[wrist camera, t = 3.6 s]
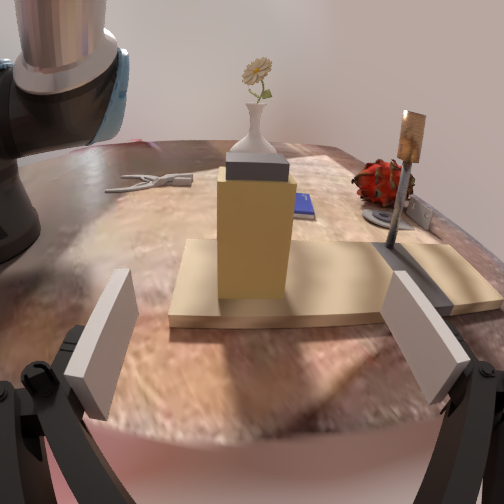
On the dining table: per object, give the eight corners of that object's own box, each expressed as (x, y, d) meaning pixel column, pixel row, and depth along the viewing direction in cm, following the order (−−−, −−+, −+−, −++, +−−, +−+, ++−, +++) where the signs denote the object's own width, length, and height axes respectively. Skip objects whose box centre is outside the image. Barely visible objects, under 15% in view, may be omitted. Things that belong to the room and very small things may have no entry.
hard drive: (309, 192, 48) (230, 187, 49) (314, 211, 41) (222, 204, 42) (308, 202, 49) (230, 196, 50) (313, 222, 42) (222, 215, 43)
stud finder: (217, 298, 23) (217, 162, 19) (219, 270, 27) (220, 151, 22) (283, 298, 24) (298, 165, 19) (277, 271, 27) (287, 153, 22)
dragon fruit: (413, 217, 50) (351, 220, 51) (401, 179, 54) (342, 180, 55) (430, 189, 42) (360, 190, 43) (413, 149, 46) (348, 148, 47)
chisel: (384, 251, 32) (410, 111, 24) (376, 241, 34) (399, 109, 26) (402, 252, 32) (430, 116, 25) (393, 242, 34) (417, 113, 27)
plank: (169, 327, 22) (168, 314, 21) (187, 249, 32) (187, 239, 32) (499, 308, 24) (504, 299, 24) (446, 252, 35) (448, 244, 34)
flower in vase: (224, 155, 76) (227, 58, 64) (266, 154, 80) (271, 62, 68) (239, 167, 65) (244, 52, 53) (287, 166, 69) (295, 58, 57)
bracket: (354, 212, 46) (358, 191, 44) (407, 216, 47) (412, 196, 45) (372, 231, 40) (377, 207, 39) (428, 233, 41) (434, 212, 40)
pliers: (121, 171, 57) (195, 169, 58) (122, 178, 57) (195, 177, 59) (103, 186, 48) (188, 183, 49) (104, 194, 49) (188, 192, 50)
